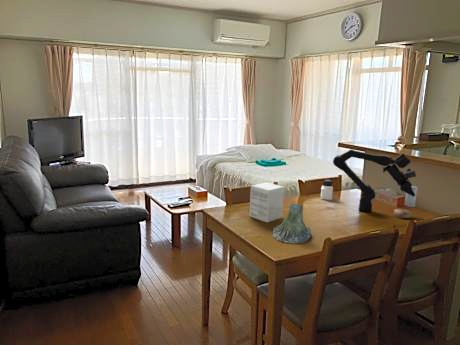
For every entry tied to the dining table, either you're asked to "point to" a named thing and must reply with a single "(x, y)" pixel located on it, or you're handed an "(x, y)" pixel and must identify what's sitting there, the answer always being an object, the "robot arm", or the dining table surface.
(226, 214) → the dining table surface
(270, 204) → the supplement box
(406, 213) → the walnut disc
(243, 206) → the dining table surface
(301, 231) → the tree stump
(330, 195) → the medicine bottle
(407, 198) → the pale blue small block
